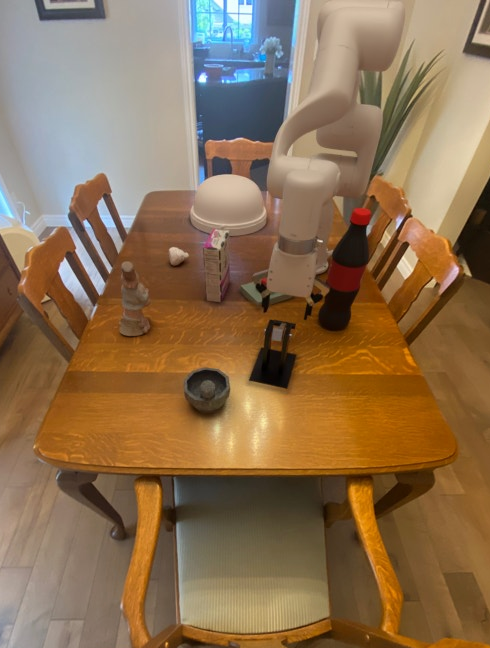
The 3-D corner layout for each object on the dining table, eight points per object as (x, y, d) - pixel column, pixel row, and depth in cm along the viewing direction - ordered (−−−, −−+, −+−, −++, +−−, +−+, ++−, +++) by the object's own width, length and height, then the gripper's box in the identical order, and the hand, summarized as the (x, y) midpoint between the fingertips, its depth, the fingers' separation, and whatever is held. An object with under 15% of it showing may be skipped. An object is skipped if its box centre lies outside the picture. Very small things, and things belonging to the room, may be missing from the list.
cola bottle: (349, 319, 101) (384, 205, 79) (345, 337, 96) (381, 221, 74) (319, 313, 103) (345, 200, 81) (313, 330, 98) (339, 214, 75)
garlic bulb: (191, 265, 119) (189, 249, 115) (173, 268, 118) (171, 252, 114) (186, 258, 122) (185, 242, 118) (169, 260, 121) (167, 244, 117)
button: (268, 279, 108) (269, 274, 106) (275, 285, 106) (276, 280, 104) (258, 282, 106) (258, 277, 105) (265, 288, 104) (265, 283, 103)
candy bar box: (214, 281, 113) (212, 228, 101) (229, 283, 113) (230, 229, 100) (205, 301, 106) (202, 246, 94) (221, 303, 105) (221, 248, 93)
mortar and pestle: (185, 390, 83) (180, 350, 74) (226, 387, 84) (226, 347, 74) (187, 430, 75) (182, 391, 66) (232, 426, 76) (233, 387, 67)
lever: (273, 326, 91) (274, 317, 90) (294, 330, 90) (296, 321, 89) (263, 338, 79) (265, 327, 78) (288, 343, 78) (290, 332, 77)
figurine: (144, 341, 94) (128, 269, 79) (114, 334, 95) (93, 262, 80) (158, 321, 99) (146, 250, 84) (130, 315, 101) (114, 244, 86)
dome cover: (199, 200, 155) (197, 162, 145) (269, 205, 153) (272, 167, 142) (181, 233, 134) (178, 192, 124) (262, 240, 132) (265, 198, 121)
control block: (273, 281, 114) (274, 270, 111) (292, 298, 108) (293, 285, 105) (240, 291, 110) (240, 279, 107) (257, 309, 104) (258, 297, 101)
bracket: (260, 350, 92) (264, 307, 83) (295, 357, 91) (304, 315, 81) (248, 383, 84) (251, 340, 75) (286, 391, 83) (294, 349, 73)
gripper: (341, 240, 75) (324, 311, 87) (259, 228, 78) (254, 298, 90) (337, 257, 70) (320, 329, 82) (250, 243, 73) (246, 315, 85)
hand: (285, 313), depth 86 cm, fingers open, 9 cm apart
